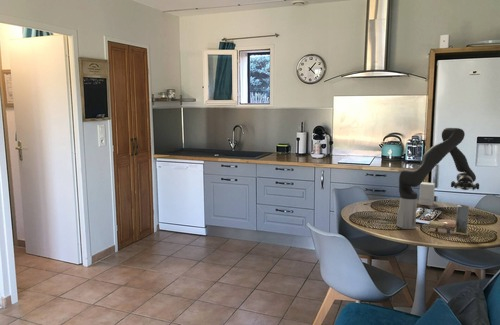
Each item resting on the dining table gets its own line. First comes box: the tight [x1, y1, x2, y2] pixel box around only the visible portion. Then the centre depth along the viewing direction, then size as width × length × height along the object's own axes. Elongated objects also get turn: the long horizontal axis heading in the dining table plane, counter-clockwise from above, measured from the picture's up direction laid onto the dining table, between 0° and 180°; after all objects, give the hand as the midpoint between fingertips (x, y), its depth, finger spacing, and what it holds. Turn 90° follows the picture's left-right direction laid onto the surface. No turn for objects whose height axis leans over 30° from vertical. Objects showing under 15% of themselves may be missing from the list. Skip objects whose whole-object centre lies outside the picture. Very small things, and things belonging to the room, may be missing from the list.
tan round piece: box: [438, 218, 456, 229], centre depth 240 cm, size 14×14×1 cm
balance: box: [428, 220, 469, 238], centre depth 224 cm, size 19×7×5 cm, turn 62°
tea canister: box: [454, 204, 470, 233], centre depth 220 cm, size 6×6×14 cm
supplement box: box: [418, 181, 436, 207], centre depth 290 cm, size 9×9×15 cm
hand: (464, 187), depth 228 cm, fingers open, 8 cm apart
